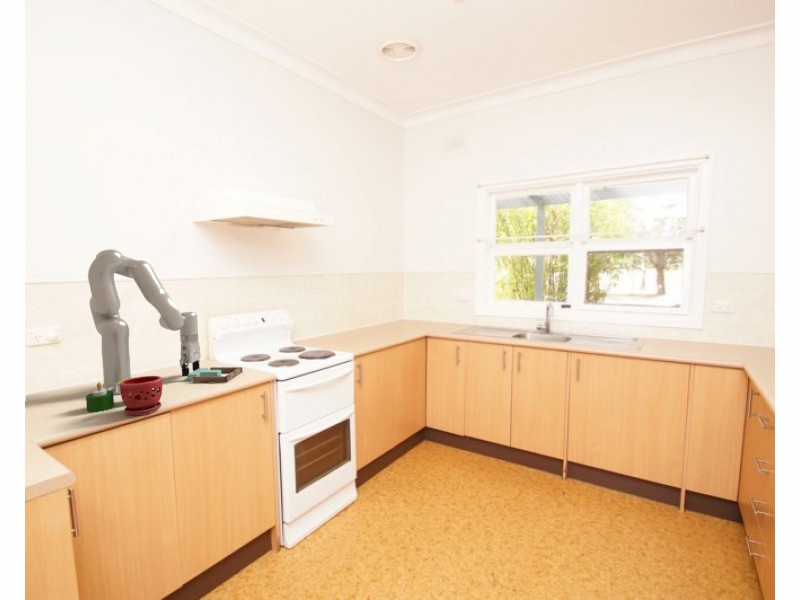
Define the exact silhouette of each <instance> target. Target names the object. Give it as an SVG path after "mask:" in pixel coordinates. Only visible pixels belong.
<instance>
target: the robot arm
mask: <svg viewBox="0 0 800 600" xmlns="http://www.w3.org/2000/svg"><path fill="white" fill-rule="evenodd" d="M115 274H116V275H120V276H122V277H126V278H130V279H133V281H134V282H135V284H136V285H137V287H138V289H139V291H140V292H141V295H142V296H143V298H144V299H145V300H146V301H147V302H148V303H149V304H151V306H152V307H154V308H155V310H156V311H157V312H158V313H159V315H160V316H159V320H158V322H159V325H160V326H161V327H162V328H164V329H165V330H169V331H172V332H175V331H179V336H180V340H179V341H180V358H179V365H180V368H181V376H182V377H188V374H190V367H189V366H190V364H191V365H192V372H194V371H195V370H197V369H199V368H201V367H200V362H201V361H200V360H201V346H200V342H199V330H198V327H199V326H198V315H197V313H196V312H195V311H185V312H184V311H183V312H181V311H180V309H179V308H178V305H177V304H176V303H175V301H173V299H172V298H171V297H170V295H169V293H168V292H167V291H166V289H165V287H164V286H163V284H162V282H161V281H160V278H159V277H158V276H157V274H156V272H155V271H154V268H153V267H152V265H151V264H150V263H149V262H148V261H145V260H137V259H133V258H131V257H128V256H125V255H123V253H122V252H120V251H119V250H116V249H111V248H109V249H103V250H101V251H99V252H98V253H97V254H96V255H95V258H94V259H93V261H92V263H91V264H90V266H89V268H88V273H87V277H88V278H87V279H88V280H87V281H88V283H89V289H90V293H91V297H90V300H89V307H90V308H89V309H90V312H91V315H92V320H93V323H94V327H95V329H96V331H97V332H98V334H99V335H100V337H101V359H102V372H103V373H102V376H103V383H102V386H101V389H106V390H107V391H113V396H117V395H121V392H120V385H119V384H118V382H119V381H121V380H124V379H129V378H132V376H131V375H132V374H131V373H132V372H131V358H130V357H131V356H130V327H129V325H128V323H127V321H125V320H124V319H123V318H121V316H120V312H119V310H120V308H121V300H120V297H119V294H118V291H117V287H116V283H115ZM96 390H98V388H96Z"/></svg>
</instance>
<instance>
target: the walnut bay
mask: <svg viewBox="0 0 800 600" xmlns="http://www.w3.org/2000/svg"><path fill="white" fill-rule="evenodd" d="M209 370H221V374H226V375H225V376H222V375H221V376H195V377H193V381H192V383H193V382H227V383H229V382H230V381H232V380H233V379H234V378H236V377H237V376H239V375H240V373H241V374H242V373H243V367H242V366H240V367H239V366H238V367H237V366H236V367H235V366H233V367H231V366H230V367H229V366H228V367H227V366H226V367H225V366H224V367H223V366H219V367H215V366H214V367H212V366H211V367H210V368H209ZM228 381H229V382H228Z"/></svg>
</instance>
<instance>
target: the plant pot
mask: <svg viewBox="0 0 800 600" xmlns="http://www.w3.org/2000/svg"><path fill="white" fill-rule="evenodd" d="M120 392H121V394H120V397H121V400H122V403H123V404H124V406H125V408H124V410H123V411H124V413H125V414H126V415H130V416H141V415H143V416H144V415H149V414H151V413H154V412H156V411H158V410H159V409H160V408H161V407H162V402H161V398H162V394H163V377H162V376H159V375H143V376H138V377H137V376H136V378H135V377H131V379H127V380H124V381H122V382H121V383H120ZM129 392H131V393H132V394H131V395H130V393H129Z"/></svg>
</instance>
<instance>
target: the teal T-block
mask: <svg viewBox="0 0 800 600" xmlns="http://www.w3.org/2000/svg"><path fill="white" fill-rule="evenodd" d="M195 376H222V373H221V370H210V368H209V367H200V368H199V369H197V370H195V371H192V372H189V374H188V376H187V381H188V382H193V377H195Z"/></svg>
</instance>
